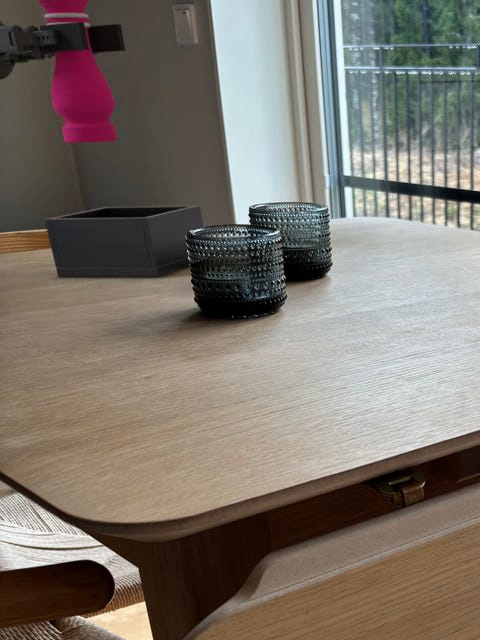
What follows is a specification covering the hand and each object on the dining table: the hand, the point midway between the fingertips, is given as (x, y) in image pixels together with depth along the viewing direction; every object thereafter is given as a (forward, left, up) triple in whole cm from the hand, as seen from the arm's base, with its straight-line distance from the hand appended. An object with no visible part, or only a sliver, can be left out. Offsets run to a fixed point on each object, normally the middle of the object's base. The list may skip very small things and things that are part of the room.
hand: (102, 36), depth 115 cm
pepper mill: (-5, +1, -11) cm, 12 cm away
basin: (+7, -14, -24) cm, 28 cm away
